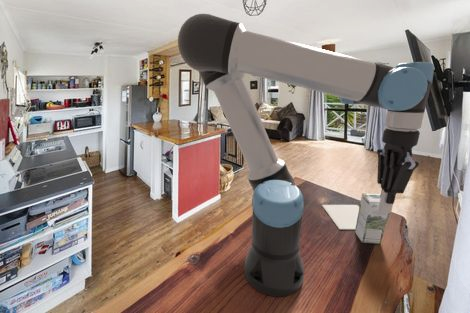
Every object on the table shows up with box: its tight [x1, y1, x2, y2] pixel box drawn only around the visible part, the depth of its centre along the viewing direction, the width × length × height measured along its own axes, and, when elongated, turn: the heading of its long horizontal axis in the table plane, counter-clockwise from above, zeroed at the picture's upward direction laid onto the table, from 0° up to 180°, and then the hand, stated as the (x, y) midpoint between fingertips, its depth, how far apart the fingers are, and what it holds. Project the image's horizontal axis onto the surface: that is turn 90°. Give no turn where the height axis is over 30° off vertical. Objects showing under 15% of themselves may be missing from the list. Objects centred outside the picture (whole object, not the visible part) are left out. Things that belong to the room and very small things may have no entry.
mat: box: [321, 204, 360, 231], centre depth 86 cm, size 14×16×1 cm
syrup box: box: [354, 193, 389, 245], centre depth 72 cm, size 6×6×14 cm
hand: (384, 211), depth 65 cm, fingers closed
